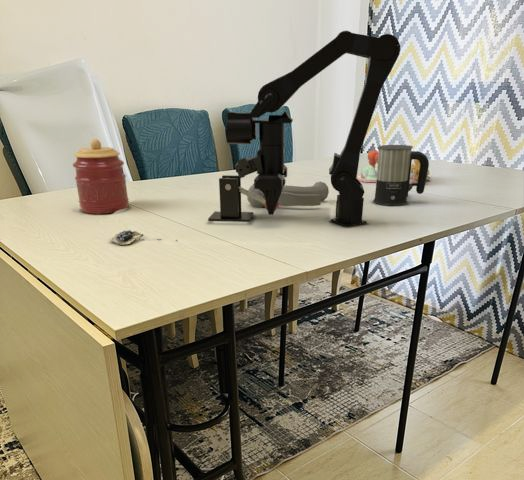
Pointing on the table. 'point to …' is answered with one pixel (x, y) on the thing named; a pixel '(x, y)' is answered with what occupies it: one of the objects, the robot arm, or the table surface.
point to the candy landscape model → (369, 171)
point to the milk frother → (398, 174)
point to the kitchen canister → (100, 179)
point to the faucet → (295, 195)
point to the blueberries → (125, 237)
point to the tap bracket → (230, 201)
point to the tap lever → (254, 196)
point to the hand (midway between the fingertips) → (271, 212)
